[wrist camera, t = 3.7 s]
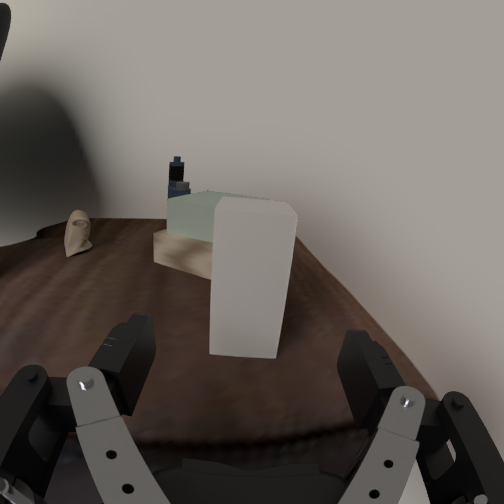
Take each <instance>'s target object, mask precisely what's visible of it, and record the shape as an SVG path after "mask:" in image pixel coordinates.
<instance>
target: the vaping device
mask: <svg viewBox="0 0 504 504" xmlns="http://www.w3.org/2000/svg"><path fill="white" fill-rule="evenodd" d="M180 159H181V157H177V156H176V157H174V162H170V165H169V167H170V169H169V177H170V178H169V186H168V199H169V198H173V197H178V196H183V195H188V194H191V193H190V190H191V189H189V182H183V175H184V162H180Z"/></svg>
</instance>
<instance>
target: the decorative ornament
mask: <svg viewBox="0 0 504 504" xmlns="http://www.w3.org/2000/svg"><path fill="white" fill-rule="evenodd" d="M89 234H90V221H89V218H88V216H87V215H86V213H85V212H83V211H80V210H76V211H74V212H73V213H72V214H71V216H70V218H69V220H68V223H67V227H66V231H65V238H64V245H65V251H66V256H67V257H69V256H71V255H73V254H76V253H78V252H81V251H85V250H88V249H90V248H91V247H92V244H91V242H90V241H88V238H89Z"/></svg>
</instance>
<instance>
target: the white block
mask: <svg viewBox="0 0 504 504" xmlns="http://www.w3.org/2000/svg"><path fill="white" fill-rule="evenodd" d="M297 220H298V215H297V214H296V213H295V211H294V210H293V209H292V207H291V206H290V205H289V203H288V202H282V201H270V200H261V199H249V198H237V197H224V196H222V198H221V199H220V201H219V203H218V204H217V206H216V208H215V212H214V230H213V250H212V273H211V303H210V354H214V355H225V356H237V357H252V358H272V359H276V355H277V349H278V344H279V338H280V332H281V326H282V321H283V315H284V308H285V302H286V296H287V290H288V283H289V277H290V270H291V263H292V256H293V249H294V242H295V235H296V227H297Z"/></svg>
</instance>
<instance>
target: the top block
mask: <svg viewBox="0 0 504 504" xmlns="http://www.w3.org/2000/svg"><path fill="white" fill-rule="evenodd" d="M222 196H224V197H237V198H249V199H261V200H269V199H264V198H257V197H251V196H243V195H237V194H230V193H222V192H215V191H203V192H198V193H193V194H188V195H183V196H178V197H173V198H169V199H167V233H170V234H175V235H179V236H184V237H189V238H193V239H198V240H202V241H207V242H211V243H213V230H214V212H215V208H216V206H217V204H218V203H219V201H220V199H221V198H222Z"/></svg>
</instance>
